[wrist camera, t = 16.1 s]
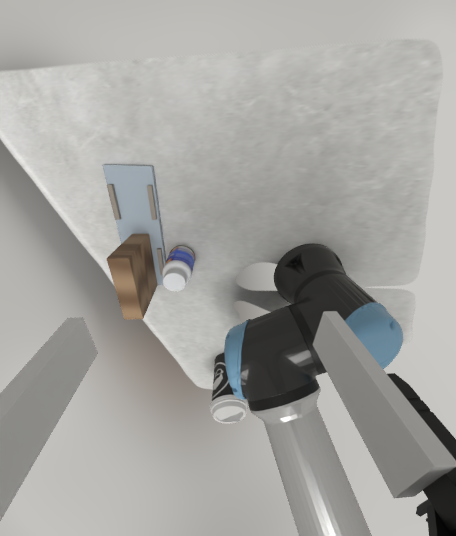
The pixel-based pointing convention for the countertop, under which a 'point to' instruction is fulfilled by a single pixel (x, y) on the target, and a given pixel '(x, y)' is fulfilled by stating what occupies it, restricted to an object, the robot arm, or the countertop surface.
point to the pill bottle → (178, 268)
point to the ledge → (137, 207)
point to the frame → (134, 275)
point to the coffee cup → (225, 396)
